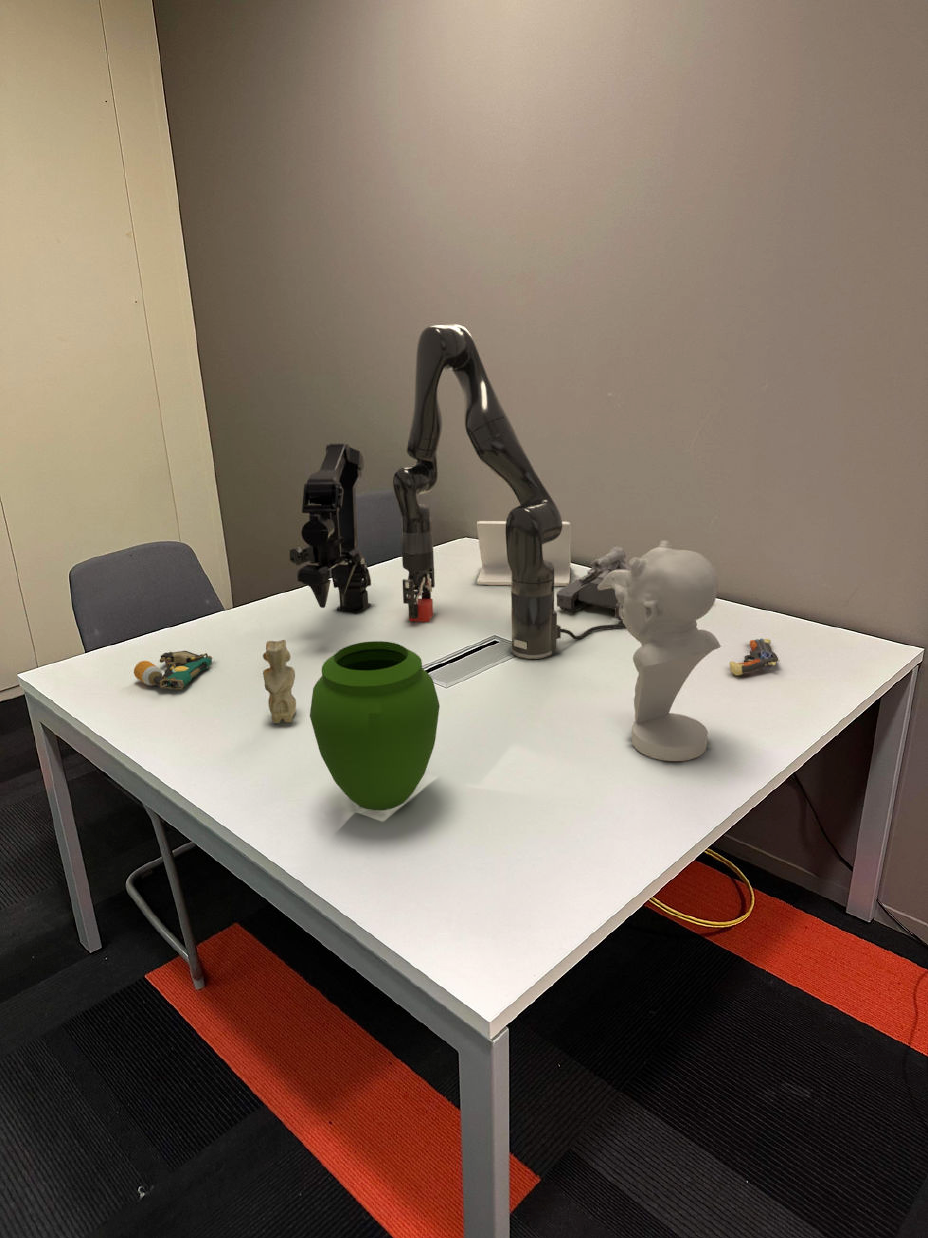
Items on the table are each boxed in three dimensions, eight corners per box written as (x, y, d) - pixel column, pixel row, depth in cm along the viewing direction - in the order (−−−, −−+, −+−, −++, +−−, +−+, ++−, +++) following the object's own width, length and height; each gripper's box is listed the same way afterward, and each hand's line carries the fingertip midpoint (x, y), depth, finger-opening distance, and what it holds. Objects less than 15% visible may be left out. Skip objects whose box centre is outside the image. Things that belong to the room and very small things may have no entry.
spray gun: (177, 659, 191) (231, 671, 185) (120, 684, 176) (176, 698, 171) (176, 641, 190) (230, 653, 184) (118, 665, 175) (174, 678, 169)
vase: (466, 785, 137) (462, 645, 128) (393, 849, 122) (383, 694, 113) (371, 755, 147) (361, 623, 138) (292, 810, 132) (275, 665, 123)
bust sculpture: (641, 695, 165) (650, 519, 153) (732, 748, 145) (751, 550, 133) (573, 715, 158) (577, 532, 146) (659, 773, 138) (671, 567, 126)
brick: (433, 614, 212) (432, 598, 210) (428, 622, 207) (428, 605, 206) (414, 614, 212) (413, 598, 211) (409, 621, 208) (408, 605, 206)
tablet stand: (569, 585, 229) (570, 524, 223) (476, 584, 232) (475, 523, 226) (570, 566, 246) (571, 508, 240) (484, 564, 249) (483, 507, 243)
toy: (603, 584, 229) (605, 530, 224) (673, 597, 218) (677, 540, 213) (555, 612, 210) (556, 553, 205) (630, 627, 199) (633, 566, 194)
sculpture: (301, 708, 164) (294, 636, 159) (296, 726, 158) (288, 651, 152) (271, 709, 164) (262, 637, 159) (265, 727, 158) (255, 652, 152)
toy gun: (731, 666, 171) (784, 663, 169) (722, 637, 189) (769, 634, 187) (732, 679, 172) (784, 676, 170) (722, 649, 190) (770, 646, 188)
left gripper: (315, 522, 199) (321, 585, 205) (272, 542, 183) (279, 611, 189) (358, 524, 196) (363, 589, 201) (318, 546, 179) (324, 616, 185)
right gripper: (414, 539, 211) (417, 601, 217) (390, 555, 199) (394, 620, 204) (443, 541, 209) (445, 604, 214) (420, 557, 196) (423, 624, 202)
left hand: (332, 600), depth 194 cm, fingers open, 9 cm apart
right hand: (420, 612), depth 209 cm, fingers open, 7 cm apart
